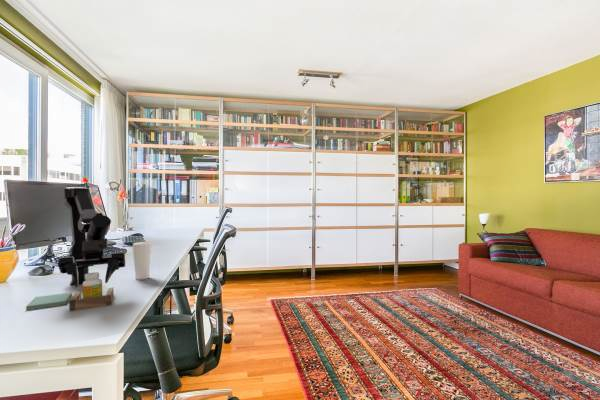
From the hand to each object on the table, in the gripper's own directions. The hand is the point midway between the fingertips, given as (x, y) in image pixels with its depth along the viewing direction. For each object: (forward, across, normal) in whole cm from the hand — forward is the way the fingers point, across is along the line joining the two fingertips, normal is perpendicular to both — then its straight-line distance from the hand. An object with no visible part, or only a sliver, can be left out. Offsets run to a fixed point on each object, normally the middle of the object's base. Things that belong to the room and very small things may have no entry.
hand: (91, 284), depth 102 cm
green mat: (-2, -13, +11) cm, 17 cm away
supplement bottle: (+4, 0, +6) cm, 7 cm away
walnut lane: (+4, 0, +6) cm, 7 cm away
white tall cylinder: (-15, +15, +24) cm, 32 cm away
